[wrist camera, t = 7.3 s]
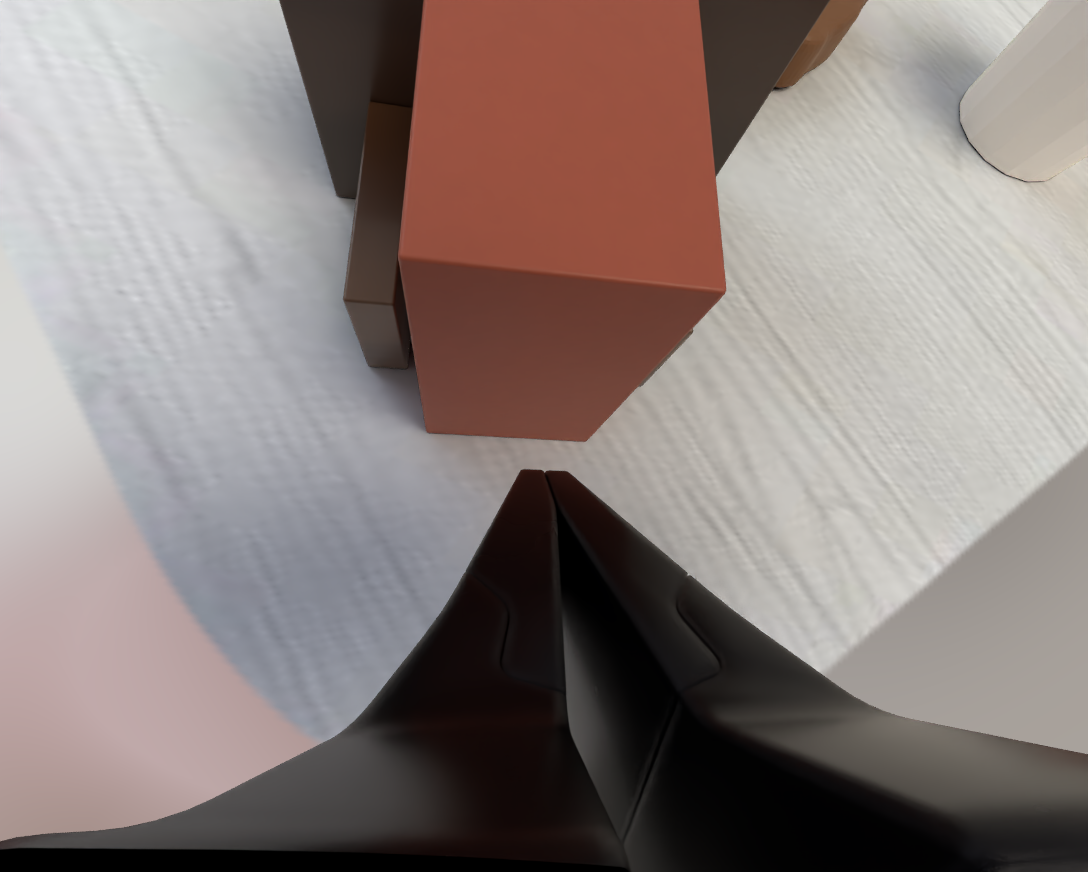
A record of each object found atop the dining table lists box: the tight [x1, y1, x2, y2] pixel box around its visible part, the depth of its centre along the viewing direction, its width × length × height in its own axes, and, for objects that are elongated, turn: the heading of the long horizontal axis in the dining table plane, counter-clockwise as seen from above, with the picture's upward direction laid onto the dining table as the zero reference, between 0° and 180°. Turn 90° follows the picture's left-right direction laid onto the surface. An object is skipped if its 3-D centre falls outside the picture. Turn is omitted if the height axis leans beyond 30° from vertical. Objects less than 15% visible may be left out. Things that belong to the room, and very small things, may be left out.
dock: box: [279, 0, 830, 386], centre depth 14 cm, size 10×12×9 cm
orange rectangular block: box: [398, 0, 726, 442], centre depth 13 cm, size 8×5×9 cm, turn 179°
